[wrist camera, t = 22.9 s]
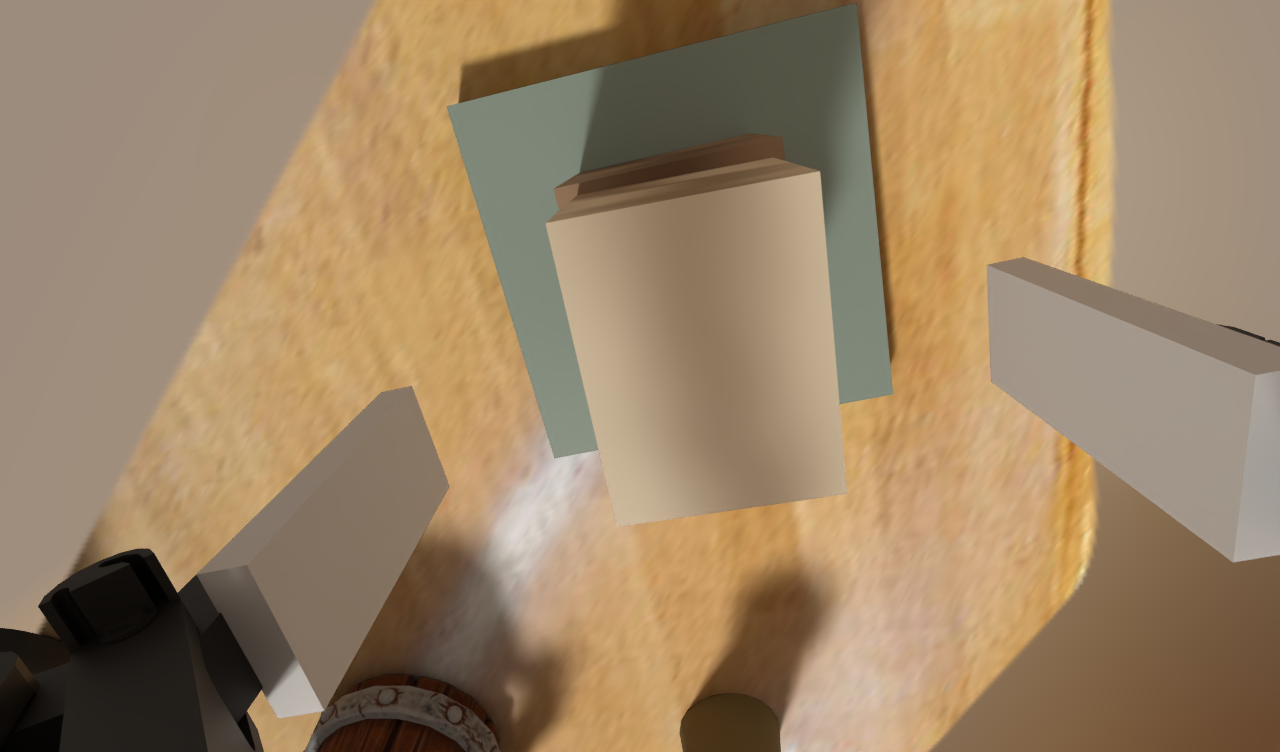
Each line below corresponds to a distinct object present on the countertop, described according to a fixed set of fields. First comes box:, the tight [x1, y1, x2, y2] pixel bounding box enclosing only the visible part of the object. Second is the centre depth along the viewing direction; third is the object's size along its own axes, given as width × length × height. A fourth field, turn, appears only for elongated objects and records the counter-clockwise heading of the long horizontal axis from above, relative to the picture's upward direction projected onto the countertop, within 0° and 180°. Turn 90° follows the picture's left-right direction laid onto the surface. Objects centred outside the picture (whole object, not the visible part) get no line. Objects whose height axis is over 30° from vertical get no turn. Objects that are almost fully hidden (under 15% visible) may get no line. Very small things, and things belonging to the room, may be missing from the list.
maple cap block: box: [545, 157, 847, 527], centre depth 18 cm, size 6×8×6 cm
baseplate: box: [447, 3, 893, 458], centre depth 28 cm, size 16×16×2 cm
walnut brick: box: [554, 133, 785, 211], centre depth 24 cm, size 7×9×7 cm
